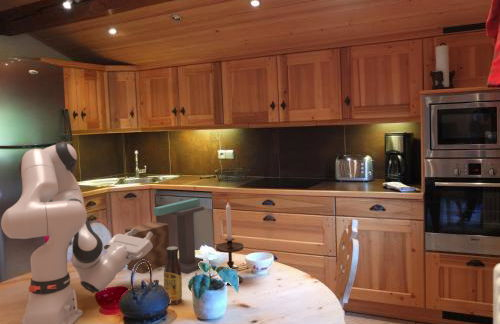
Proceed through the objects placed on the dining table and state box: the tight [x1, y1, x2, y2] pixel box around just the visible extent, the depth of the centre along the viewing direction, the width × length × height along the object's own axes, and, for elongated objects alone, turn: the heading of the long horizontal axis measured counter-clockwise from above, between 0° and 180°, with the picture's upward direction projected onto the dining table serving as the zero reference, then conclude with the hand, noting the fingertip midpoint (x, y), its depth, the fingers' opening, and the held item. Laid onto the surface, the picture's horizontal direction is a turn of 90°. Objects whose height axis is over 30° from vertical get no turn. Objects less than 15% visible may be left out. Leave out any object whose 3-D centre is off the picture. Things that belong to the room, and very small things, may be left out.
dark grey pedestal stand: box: [164, 205, 205, 275], centre depth 201 cm, size 14×14×26 cm
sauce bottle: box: [163, 245, 183, 305], centre depth 163 cm, size 6×6×20 cm
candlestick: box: [215, 195, 245, 287], centre depth 180 cm, size 11×11×35 cm
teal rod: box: [153, 198, 201, 217], centre depth 196 cm, size 24×3×3 cm, turn 142°
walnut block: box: [124, 221, 170, 274], centre depth 203 cm, size 16×10×18 cm, turn 142°
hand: (143, 231), depth 182 cm, fingers open, 8 cm apart
